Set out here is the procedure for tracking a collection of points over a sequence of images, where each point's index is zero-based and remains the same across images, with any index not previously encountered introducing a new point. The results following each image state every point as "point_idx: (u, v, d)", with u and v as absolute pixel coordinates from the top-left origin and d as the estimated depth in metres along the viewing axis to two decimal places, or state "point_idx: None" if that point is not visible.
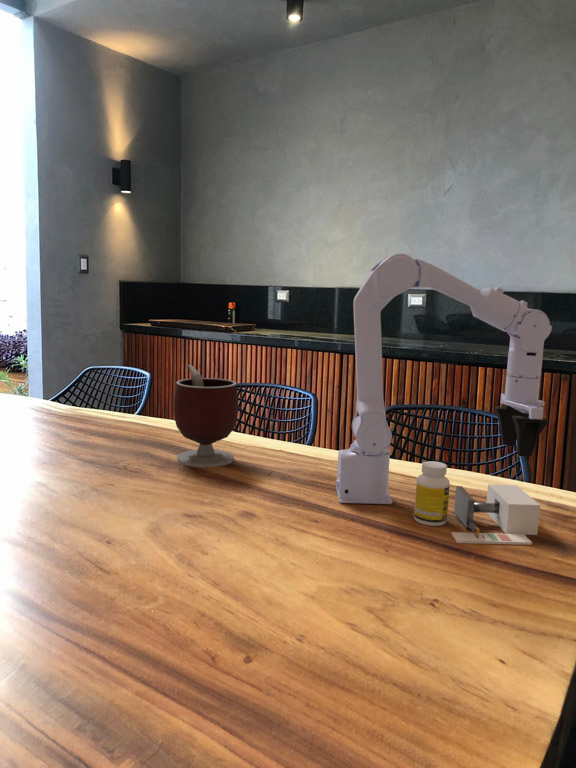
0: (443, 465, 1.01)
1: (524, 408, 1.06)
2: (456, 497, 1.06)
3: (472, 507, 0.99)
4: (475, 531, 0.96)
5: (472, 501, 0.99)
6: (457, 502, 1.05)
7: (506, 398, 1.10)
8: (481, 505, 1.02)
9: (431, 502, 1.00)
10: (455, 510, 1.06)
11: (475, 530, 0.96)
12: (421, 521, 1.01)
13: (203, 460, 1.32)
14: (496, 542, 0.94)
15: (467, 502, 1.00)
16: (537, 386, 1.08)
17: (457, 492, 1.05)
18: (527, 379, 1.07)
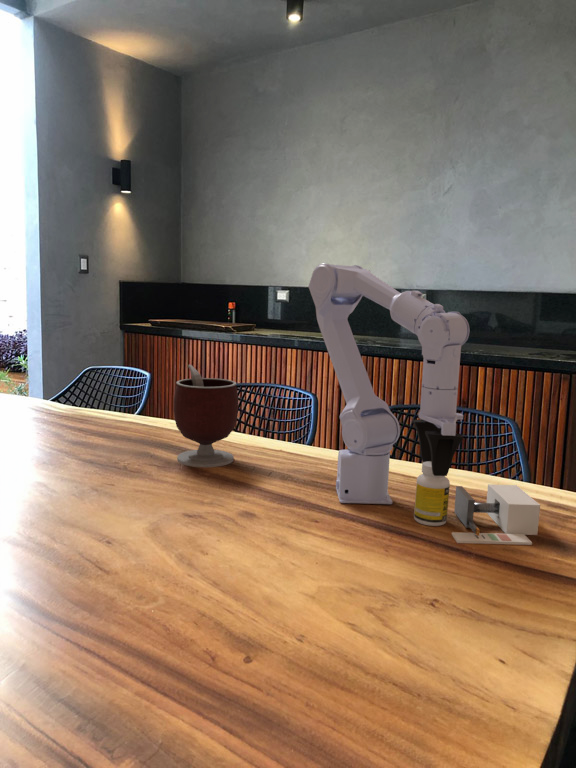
0: None
1: (437, 423, 0.96)
2: (456, 497, 1.06)
3: (472, 507, 0.99)
4: (475, 531, 0.96)
5: (472, 501, 0.99)
6: (457, 502, 1.05)
7: (421, 411, 1.00)
8: (481, 505, 1.02)
9: (431, 502, 1.00)
10: (455, 510, 1.06)
11: (475, 530, 0.96)
12: (421, 521, 1.01)
13: (203, 460, 1.32)
14: (496, 542, 0.94)
15: (467, 502, 1.00)
16: (453, 398, 0.98)
17: (457, 492, 1.05)
18: (441, 391, 0.97)
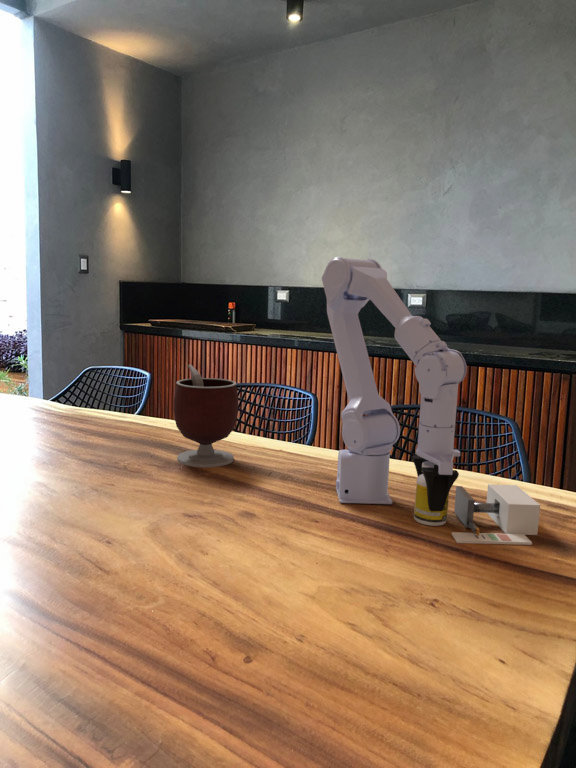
0: None
1: (434, 461, 0.96)
2: (456, 497, 1.06)
3: (472, 507, 0.99)
4: (475, 531, 0.96)
5: (472, 501, 0.99)
6: (457, 502, 1.05)
7: (418, 448, 1.01)
8: (481, 505, 1.02)
9: None
10: (455, 510, 1.06)
11: (475, 530, 0.96)
12: (421, 521, 1.01)
13: (203, 460, 1.32)
14: (496, 542, 0.94)
15: (467, 502, 1.00)
16: (450, 436, 0.99)
17: (457, 492, 1.05)
18: (439, 429, 0.98)
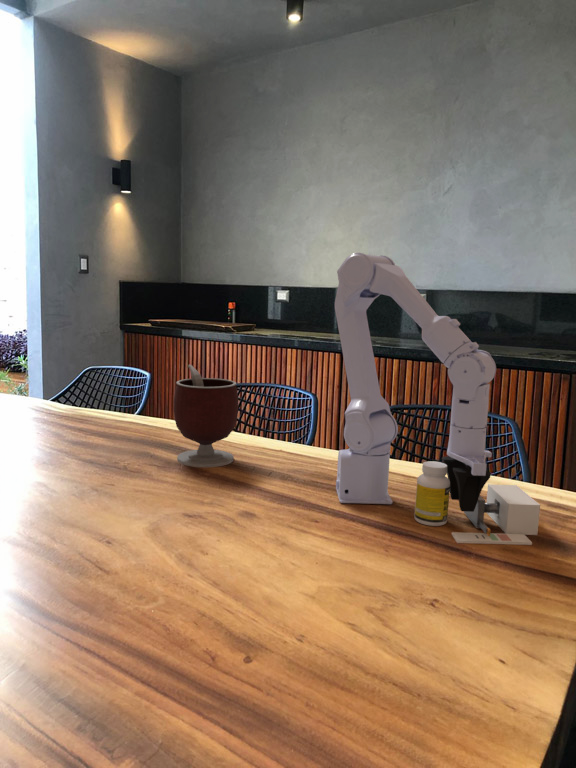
0: (443, 465, 1.01)
1: (467, 462, 0.97)
2: None
3: (482, 507, 0.99)
4: (486, 531, 0.96)
5: (482, 501, 0.99)
6: None
7: (450, 449, 1.01)
8: (492, 505, 1.02)
9: (431, 502, 1.00)
10: None
11: (486, 530, 0.96)
12: (421, 521, 1.01)
13: (203, 460, 1.32)
14: (496, 542, 0.94)
15: (477, 502, 1.00)
16: (482, 437, 0.99)
17: None
18: (471, 430, 0.98)
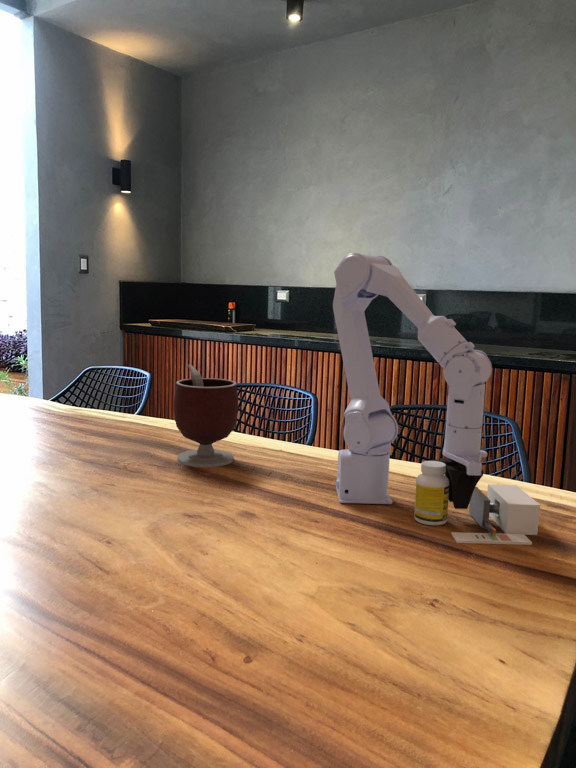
0: (442, 464, 1.01)
1: (462, 462, 0.97)
2: (471, 497, 1.06)
3: (488, 507, 0.99)
4: (491, 531, 0.96)
5: (488, 501, 0.99)
6: (472, 503, 1.05)
7: (445, 449, 1.01)
8: (497, 505, 1.02)
9: (431, 501, 1.00)
10: (470, 510, 1.06)
11: (491, 530, 0.96)
12: (421, 521, 1.01)
13: (203, 460, 1.32)
14: (496, 542, 0.94)
15: (482, 502, 1.00)
16: (478, 437, 0.99)
17: None
18: (466, 430, 0.98)
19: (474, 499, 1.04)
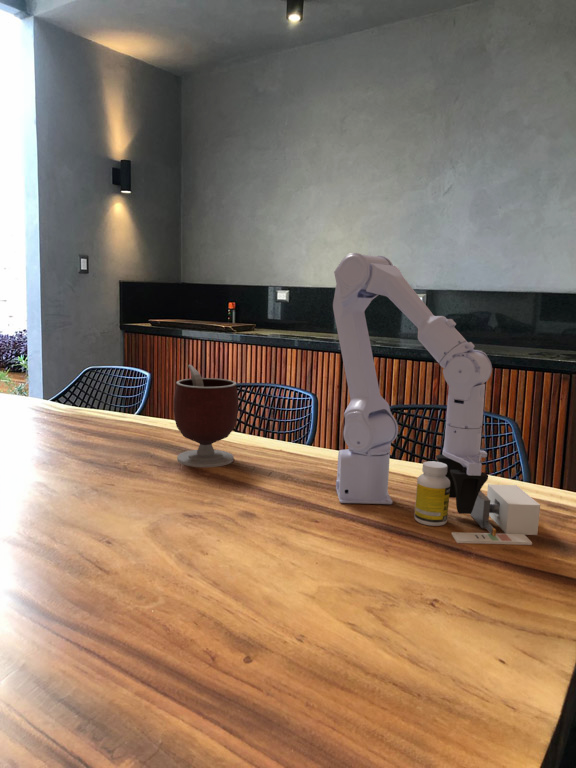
0: (444, 465, 1.01)
1: (462, 462, 0.97)
2: None
3: (488, 507, 0.99)
4: (491, 531, 0.96)
5: (488, 501, 0.99)
6: None
7: (445, 449, 1.01)
8: (497, 505, 1.02)
9: (431, 501, 1.00)
10: None
11: (491, 530, 0.96)
12: (421, 521, 1.01)
13: (203, 460, 1.32)
14: (496, 542, 0.94)
15: (482, 502, 1.00)
16: (478, 437, 0.99)
17: None
18: (466, 430, 0.98)
19: None
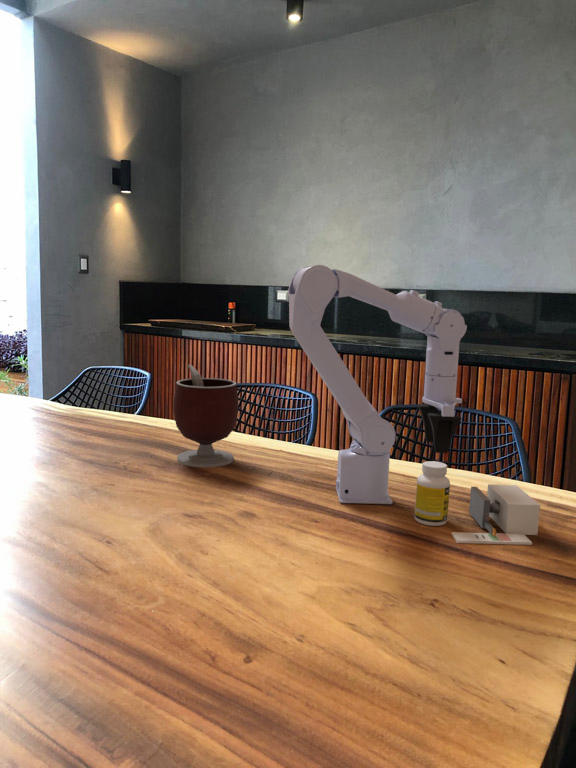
0: (443, 465, 1.01)
1: (438, 406, 1.08)
2: (471, 497, 1.06)
3: (488, 507, 0.99)
4: (491, 531, 0.96)
5: (488, 501, 0.99)
6: (472, 503, 1.05)
7: (424, 396, 1.13)
8: (497, 505, 1.02)
9: (431, 502, 1.00)
10: (470, 510, 1.06)
11: (491, 530, 0.96)
12: (421, 521, 1.01)
13: (203, 460, 1.32)
14: (496, 542, 0.94)
15: (482, 502, 1.00)
16: (453, 384, 1.11)
17: (472, 492, 1.05)
18: (442, 377, 1.10)
19: (474, 499, 1.04)
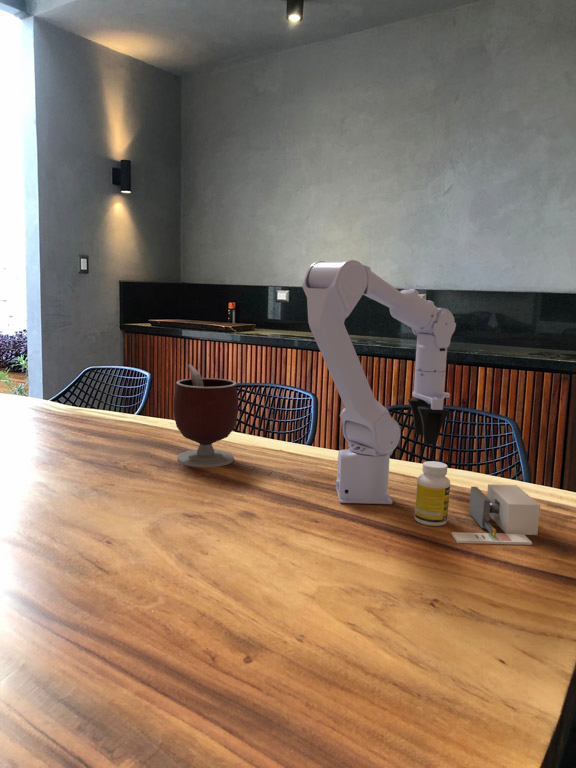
0: (444, 465, 1.01)
1: (427, 399, 1.14)
2: (471, 497, 1.06)
3: (488, 507, 0.99)
4: (491, 531, 0.96)
5: (488, 501, 0.99)
6: (472, 503, 1.05)
7: (414, 390, 1.19)
8: (497, 505, 1.02)
9: (431, 502, 1.00)
10: (470, 510, 1.06)
11: (491, 530, 0.96)
12: (421, 521, 1.01)
13: (203, 460, 1.32)
14: (496, 542, 0.94)
15: (482, 502, 1.00)
16: (441, 379, 1.17)
17: (472, 492, 1.05)
18: (431, 373, 1.16)
19: (474, 499, 1.04)
